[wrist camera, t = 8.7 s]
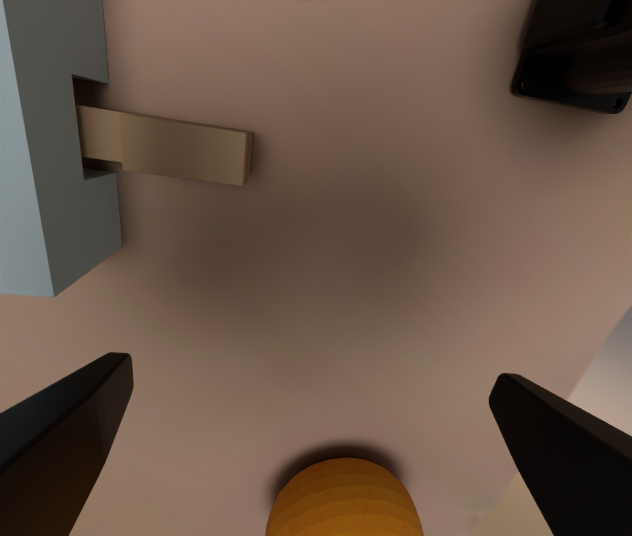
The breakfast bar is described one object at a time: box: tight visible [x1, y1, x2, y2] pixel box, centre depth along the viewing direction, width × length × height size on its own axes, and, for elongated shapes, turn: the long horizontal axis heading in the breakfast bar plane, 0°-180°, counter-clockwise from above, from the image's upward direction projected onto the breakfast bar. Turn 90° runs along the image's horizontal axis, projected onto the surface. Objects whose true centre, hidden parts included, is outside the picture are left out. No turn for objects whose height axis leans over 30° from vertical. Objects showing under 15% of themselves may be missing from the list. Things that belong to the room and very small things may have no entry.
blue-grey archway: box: [0, 0, 122, 297], centre depth 13 cm, size 2×12×6 cm, turn 171°
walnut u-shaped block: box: [75, 104, 254, 186], centre depth 14 cm, size 16×2×4 cm, turn 81°
